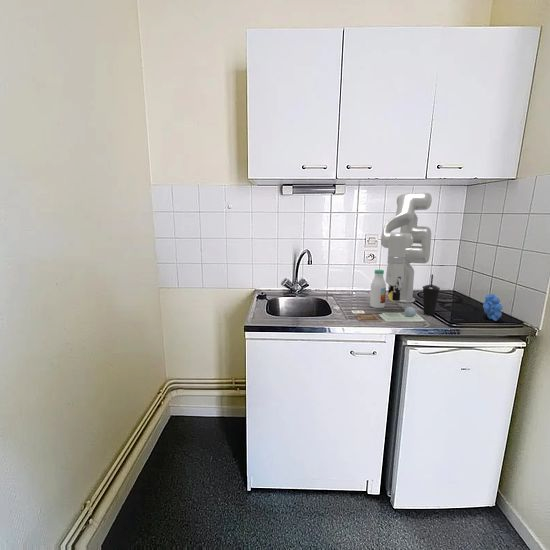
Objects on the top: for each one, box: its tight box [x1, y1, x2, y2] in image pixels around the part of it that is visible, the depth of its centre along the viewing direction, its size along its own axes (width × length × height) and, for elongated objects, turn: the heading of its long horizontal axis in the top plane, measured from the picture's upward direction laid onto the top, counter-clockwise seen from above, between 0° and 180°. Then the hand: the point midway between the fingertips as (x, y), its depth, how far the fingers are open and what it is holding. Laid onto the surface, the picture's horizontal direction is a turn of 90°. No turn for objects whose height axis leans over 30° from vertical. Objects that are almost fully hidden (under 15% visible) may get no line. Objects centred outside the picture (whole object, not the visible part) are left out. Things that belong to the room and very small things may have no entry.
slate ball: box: [403, 306, 417, 317], centre depth 144 cm, size 5×5×5 cm
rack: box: [378, 312, 426, 323], centre depth 145 cm, size 10×18×2 cm, turn 89°
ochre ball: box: [387, 291, 396, 303], centre depth 143 cm, size 5×5×5 cm
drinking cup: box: [422, 273, 441, 317], centre depth 149 cm, size 8×8×20 cm
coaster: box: [353, 313, 382, 323], centre depth 145 cm, size 10×10×1 cm
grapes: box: [482, 293, 503, 322], centre depth 141 cm, size 12×7×12 cm, turn 177°
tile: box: [351, 310, 366, 315], centre depth 154 cm, size 4×6×1 cm, turn 89°
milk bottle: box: [369, 269, 387, 309], centre depth 163 cm, size 8×8×20 cm
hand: (393, 298), depth 143 cm, fingers closed on ochre ball, 4 cm apart
